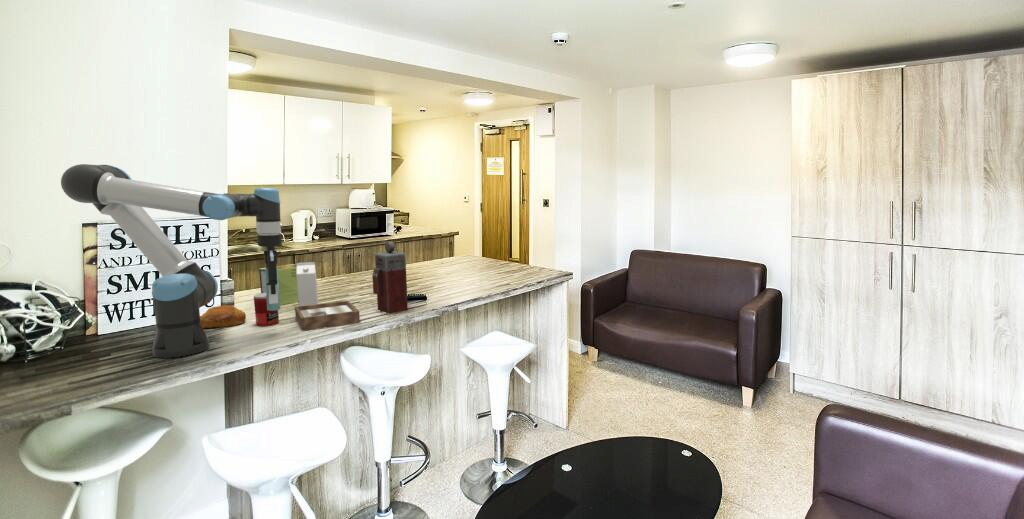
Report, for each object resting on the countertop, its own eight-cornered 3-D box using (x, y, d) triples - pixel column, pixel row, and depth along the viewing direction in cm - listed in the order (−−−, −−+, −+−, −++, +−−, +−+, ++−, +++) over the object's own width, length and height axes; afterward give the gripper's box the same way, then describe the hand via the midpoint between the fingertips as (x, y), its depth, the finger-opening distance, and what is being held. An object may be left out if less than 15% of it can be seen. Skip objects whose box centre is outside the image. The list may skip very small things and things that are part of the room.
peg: (267, 311, 179) (265, 270, 177) (266, 308, 182) (264, 268, 180) (280, 309, 181) (278, 269, 179) (279, 307, 184) (277, 267, 182)
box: (302, 330, 186) (301, 318, 185) (295, 318, 203) (294, 306, 202) (359, 322, 195) (359, 311, 194) (348, 311, 212) (348, 300, 212)
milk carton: (300, 306, 223) (297, 261, 220) (318, 304, 225) (315, 260, 222) (299, 310, 216) (295, 264, 213) (317, 308, 218) (314, 263, 215)
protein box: (306, 300, 234) (304, 265, 231) (271, 306, 222) (268, 270, 220) (295, 297, 240) (293, 263, 238) (261, 303, 229) (258, 268, 227)
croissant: (242, 332, 193) (243, 311, 192) (194, 330, 188) (195, 309, 187) (249, 321, 206) (250, 301, 205) (204, 319, 201) (205, 299, 200)
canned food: (270, 326, 191) (268, 297, 190) (251, 326, 193) (248, 296, 191) (283, 321, 199) (281, 292, 197) (264, 320, 200) (262, 292, 199)
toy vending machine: (372, 310, 213) (368, 242, 209) (396, 306, 220) (393, 239, 216) (383, 314, 206) (379, 243, 202) (408, 309, 214) (405, 241, 210)
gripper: (283, 236, 172) (287, 305, 175) (279, 231, 187) (282, 296, 190) (258, 236, 168) (262, 308, 172) (255, 232, 183) (259, 298, 187)
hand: (273, 301), depth 181 cm, fingers closed on peg, 4 cm apart
